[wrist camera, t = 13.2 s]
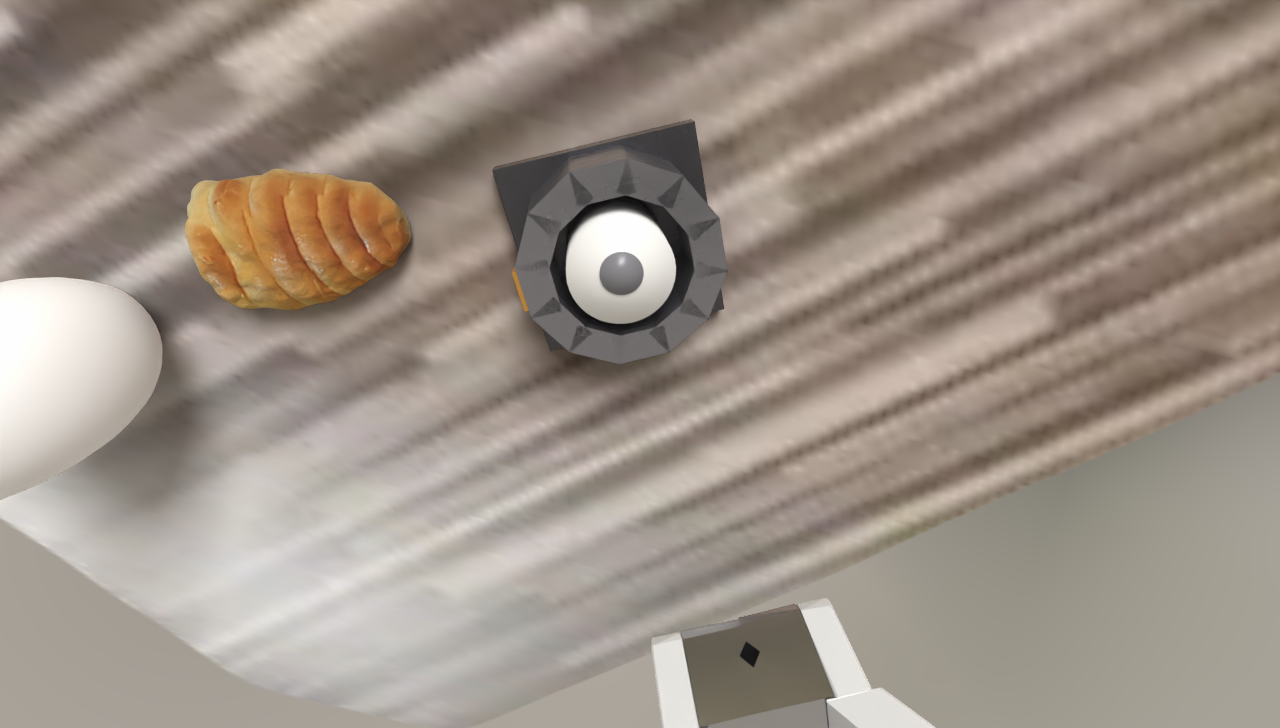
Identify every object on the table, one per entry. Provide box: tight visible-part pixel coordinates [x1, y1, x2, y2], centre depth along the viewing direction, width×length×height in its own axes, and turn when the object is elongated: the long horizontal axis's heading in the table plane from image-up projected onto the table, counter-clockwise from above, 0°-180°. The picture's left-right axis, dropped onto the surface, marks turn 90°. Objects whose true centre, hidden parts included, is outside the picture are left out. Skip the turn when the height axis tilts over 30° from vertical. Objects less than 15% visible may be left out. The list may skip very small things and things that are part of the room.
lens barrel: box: [492, 119, 727, 364], centre depth 30 cm, size 10×10×5 cm
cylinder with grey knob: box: [566, 197, 676, 324], centre depth 29 cm, size 5×5×5 cm
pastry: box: [185, 169, 411, 310], centre depth 29 cm, size 9×7×4 cm
